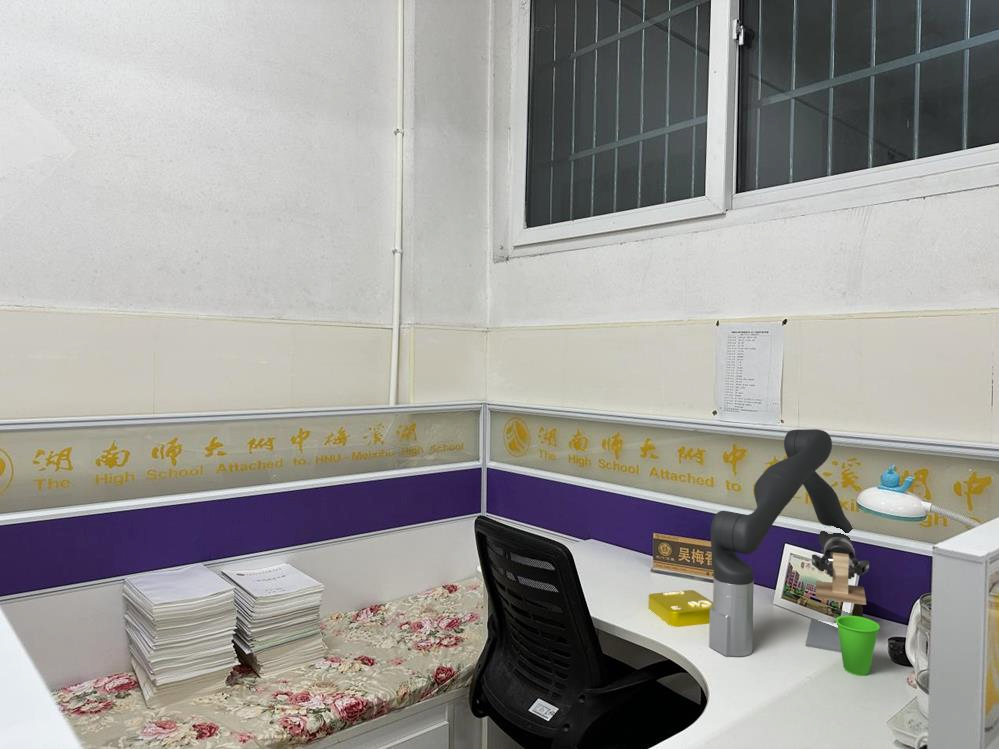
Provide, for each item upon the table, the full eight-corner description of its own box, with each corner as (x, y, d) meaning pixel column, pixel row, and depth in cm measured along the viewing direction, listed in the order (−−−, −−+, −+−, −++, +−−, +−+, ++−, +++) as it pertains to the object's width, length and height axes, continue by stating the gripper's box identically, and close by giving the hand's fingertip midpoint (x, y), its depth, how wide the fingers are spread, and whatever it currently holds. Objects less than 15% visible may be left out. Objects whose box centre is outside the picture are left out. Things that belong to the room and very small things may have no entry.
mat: (865, 656, 167) (865, 654, 167) (805, 645, 173) (805, 643, 173) (865, 630, 183) (865, 627, 183) (811, 620, 189) (811, 618, 189)
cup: (884, 681, 155) (886, 632, 154) (840, 677, 156) (841, 628, 156) (871, 663, 163) (872, 617, 163) (829, 660, 165) (830, 613, 165)
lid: (866, 604, 169) (866, 564, 168) (815, 598, 173) (816, 559, 173) (863, 589, 179) (864, 551, 178) (816, 583, 183) (816, 546, 183)
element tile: (693, 603, 203) (693, 587, 202) (722, 623, 188) (723, 606, 188) (645, 608, 199) (645, 591, 198) (672, 629, 184) (672, 611, 184)
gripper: (810, 537, 192) (809, 555, 176) (869, 543, 186) (873, 562, 170) (810, 564, 192) (809, 585, 176) (868, 571, 186) (873, 593, 170)
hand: (840, 573), depth 173 cm, fingers closed on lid, 3 cm apart
